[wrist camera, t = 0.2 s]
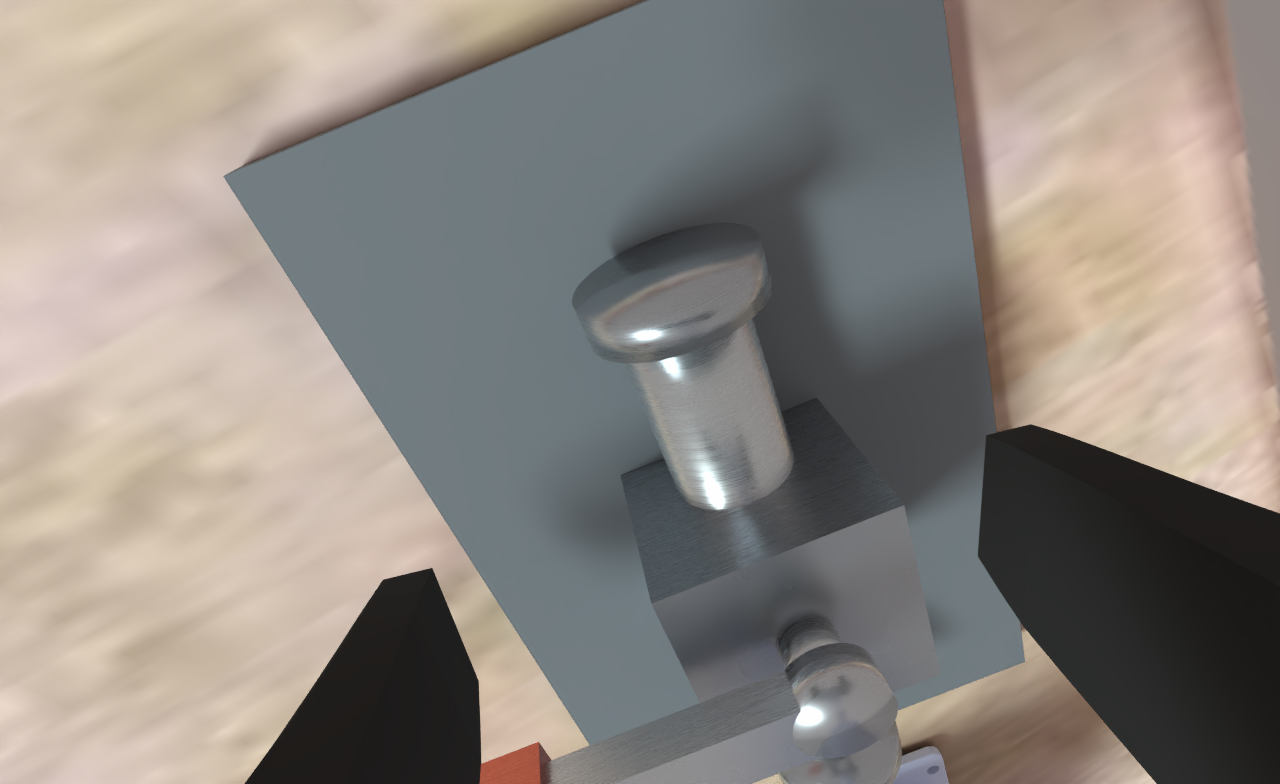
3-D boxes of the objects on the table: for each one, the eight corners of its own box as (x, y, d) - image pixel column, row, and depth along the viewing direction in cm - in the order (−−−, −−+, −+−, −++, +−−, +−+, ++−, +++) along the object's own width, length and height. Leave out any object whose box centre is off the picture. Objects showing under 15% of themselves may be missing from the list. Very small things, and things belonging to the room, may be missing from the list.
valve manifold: (889, 665, 24) (988, 835, 19) (735, 724, 25) (794, 908, 19) (762, 194, 16) (876, 273, 11) (533, 286, 16) (543, 406, 11)
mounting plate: (1007, 640, 26) (1024, 661, 25) (628, 786, 27) (633, 812, 26) (904, -108, 15) (929, -116, 14) (239, 167, 15) (223, 176, 14)
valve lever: (858, 618, 15) (895, 679, 14) (877, 682, 16) (913, 747, 15) (346, 816, 15) (329, 897, 14) (398, 867, 16) (387, 947, 15)
